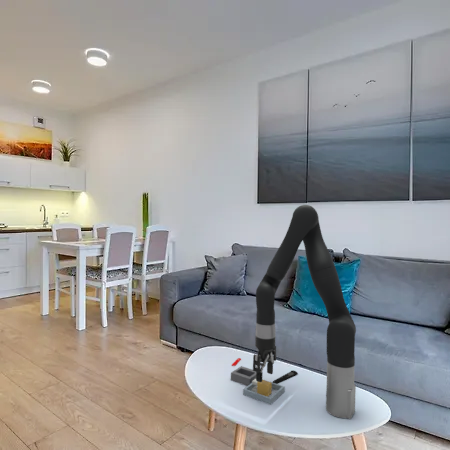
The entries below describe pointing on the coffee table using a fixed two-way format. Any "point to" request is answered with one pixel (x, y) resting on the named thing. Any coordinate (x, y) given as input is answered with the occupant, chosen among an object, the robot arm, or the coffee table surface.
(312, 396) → the coffee table surface
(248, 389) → the tray
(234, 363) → the swiss army knife
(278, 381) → the electric trimmer
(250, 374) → the block
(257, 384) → the block
